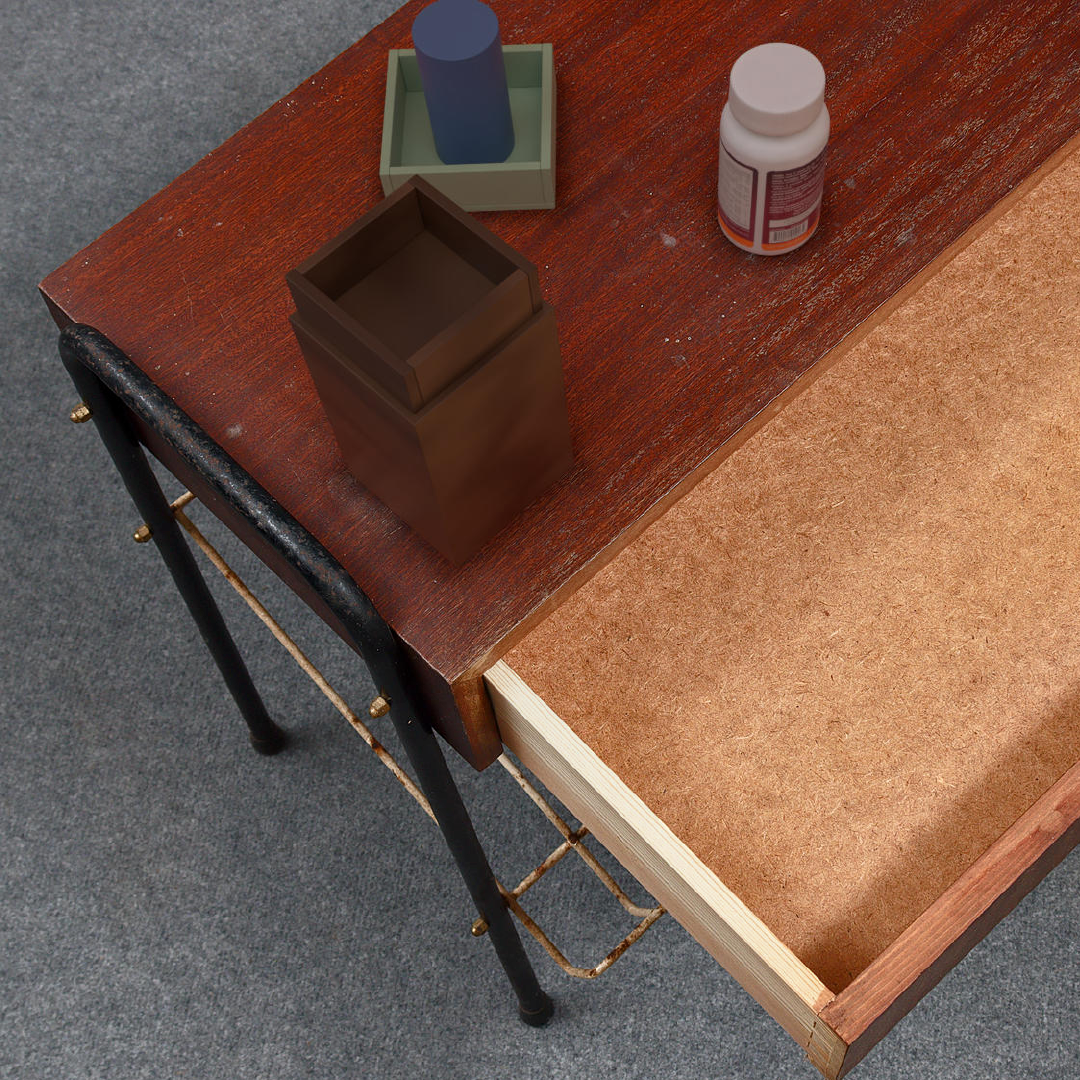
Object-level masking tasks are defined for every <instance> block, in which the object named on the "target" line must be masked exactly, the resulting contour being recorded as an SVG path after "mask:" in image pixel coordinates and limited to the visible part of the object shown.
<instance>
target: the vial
mask: <svg viewBox="0 0 1080 1080" xmlns="http://www.w3.org/2000/svg"><path fill="white" fill-rule="evenodd" d="M411 38H412V42H413V49H415V53H416V58H417V62H418V67H419V72H420V77H421V81H422V86H423V91H424V96H425V100H426V105H427V110H428V115H429V119H430V124H431V129H432V134H433V138H434V143H435V148H436V152H437V155H438V156H439V158H440V159H441V161H442V162H443V163H444V164H446V165H460V164H488V163H503V162H504V161H505V160H506V159H507V158H508V157H509V156H510V154H511V153H512V150H513V148H514V145H515V135H514V128H513V121H512V114H511V107H510V100H509V93H508V86H507V79H506V72H505V65H504V57H503V50H502V45H503V44H502V36H501V30H500V22H499V19H498V17H497V15H496V13H495V12H494V10H493V9H492V8H491V7H490V6H489V5H487V4H486V3H484V2H483V1H480V0H437V1H434V2H432V3H430V4H429V5H427V6H425V7H424V8H423V9H422V10H421V11H420V12H419V13H418V14H417V16H416V17H415V18H414V21H413V23H412V25H411Z"/></svg>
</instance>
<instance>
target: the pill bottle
mask: <svg viewBox="0 0 1080 1080" xmlns="http://www.w3.org/2000/svg"><path fill="white" fill-rule="evenodd" d="M728 90H729V91H728V98H727V99H728V100H727V101H726V103H725V104H724V106H723V109H722V112H721V116H720V121H719V122H720V123H719V150H718V151H719V152H718V155H719V156H718V182H717V183H718V185H717V187H718V188H717V220H718V223H719V226H720V229H721V231H722V233H723V235H725V237H726V238H727V239H728V240H729V241H730V242H731V243H732V244H734V245H735V246H736V247H737V248H739V249H741V250H743V251H744V252H748V253H751V254H755V255H761V256H779V255H784V254H786V253H787V254H788V253H790V252H793V251H794V250H796V249H798V248H799V247H801V246H803V245H805V243H806V242H808V241H809V239H810V238H811V237H812V236H813V234H814V233H815V231H816V229H817V227H818V225H819V220H820V215H821V208H822V198H823V191H824V181H825V171H826V164H827V154H828V146H829V140H830V131H831V118H830V114H829V109H828V108H827V105H826V102H825V91H826V73H825V70H824V67H823V65H822V63H821V61H820V60H819V59H818V58H817V57H816V56H815V55H814V54H813V53H812V52H810V51H809V50H807V49H806V48H803V47H802V46H799V45H796V44H790V43H786V42H769V43H764V44H759V45H757V46H755V47H753V48H752V47H751V48H750V49H749V50H747V51H745V52H744V53H743V54H741V55H740V56H739V57H738V58H737V60H736V61H735V62H734V64H733V65H732V68H731V71H730V76H729V89H728Z"/></svg>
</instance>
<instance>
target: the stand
mask: <svg viewBox="0 0 1080 1080" xmlns="http://www.w3.org/2000/svg"><path fill="white" fill-rule="evenodd" d="M284 279H285V283H286V285H287V287H288V290H289V292H290V294H291V298H292V300H293V303H294V305H295V308H296V310H295V311H293V312H292V313H291V314H289V315H288V317H287V318H288V320H289V323H290V326H291V328H292V331H293V333H294V336H295V339H296V341H297V343H298V346H299V349H300V352H301V354H302V356H303V359H304V362H305V364H306V366H307V369H308V372H309V374H310V377H311V379H312V381H313V385H314V386H315V390H316V393H317V394H318V397H319V399H320V402H321V404H322V407H323V410H324V412H325V415H326V417H327V420H328V423H329V425H330V428H331V430H332V433H333V435H334V438H335V441H336V443H337V445H338V447H339V450H340V453H341V455H342V459H343V460H344V461H343V462H344V463H345V465H346V468H347V471H348V472H349V473H350V475H352V476H353V477H354V478H355V479H356V480H357V481H358V482H360V483H361V485H363V486H364V487H365V489H368V491H369V492H371V493H372V494H373V495H374V496H375V497H377V499H379V500H380V501H381V502H382V503H383V504H384V505H385V506H386V507H387V508H388V509H390V511H392V512H393V513H394V514H395V515H396V516H398V518H400V519H401V520H402V521H403V522H404V523H405V524H406V525H407V526H408V527H410V528H411V530H413V531H414V532H415V533H416V534H417V535H419V536H420V537H421V538H422V539H423V540H424V541H425V542H426V543H428V544H429V545H430V546H431V547H432V548H433V549H434V550H436V552H438V553H439V554H440V555H441V556H442V557H443V558H444V559H445V560H447V562H449V563H450V564H451V565H452V566H453V567H454V568H456V569H459V568H460V567H461V566H462V565H463V564H465V563H466V561H467V560H469V559H470V558H471V557H472V556H474V555H475V554H476V553H477V552H478V551H479V550H480V549H481V548H483V547H484V546H485V545H486V544H487V543H488V542H489V541H490V540H492V539H493V538H494V537H495V536H496V535H497V534H498V533H499V532H501V531H502V530H503V529H504V528H505V527H506V526H507V525H508V524H509V523H511V522H512V521H513V520H514V519H516V517H518V516H519V515H520V514H521V513H523V511H524V510H525V509H526V508H528V507H529V506H530V505H531V504H532V503H534V502H535V501H536V500H537V499H538V498H539V497H540V496H541V495H542V494H543V493H544V492H547V490H548V489H549V488H550V487H551V486H553V485H554V484H555V483H556V482H557V481H558V480H559V479H561V478H562V477H563V476H564V475H565V474H566V473H567V472H569V471H570V470H571V469H572V468H573V467H575V457H574V450H573V449H574V448H573V442H572V441H573V440H572V435H571V434H572V432H571V425H570V418H569V417H570V416H569V410H568V402H567V401H568V400H567V394H566V386H565V378H564V370H563V362H562V361H563V360H562V353H561V346H560V338H559V330H558V321H557V314H556V307H554V306H553V305H552V304H550V303H549V302H548V301H547V300H545V299H544V298H543V297H542V291H541V284H540V283H541V282H540V276H539V268H538V266H537V265H536V264H535V263H533V262H532V261H530V259H528V258H526V257H525V256H524V255H523V254H522V253H520V252H519V251H518V250H516V249H515V248H513V246H511V245H510V244H509V243H507V242H506V241H505V240H503V239H502V238H501V237H500V236H498V235H497V233H494V231H491V230H490V229H489V228H488V227H486V226H485V225H484V224H483V223H482V222H480V221H479V220H478V219H476V218H475V217H474V216H472V215H471V214H470V213H469V212H466V211H465V210H463V209H462V208H461V207H459V206H458V205H457V204H456V203H454V202H453V201H452V200H450V199H449V198H448V197H447V196H445V195H444V194H443V193H441V192H440V191H439V190H437V189H436V188H435V187H434V186H432V185H431V184H430V183H428V182H427V181H426V180H425V179H423V178H422V177H421V176H419V175H418V174H415V175H414V176H413V177H411V178H410V179H409V180H408V181H407V182H405V183H404V184H403V185H401V186H400V187H399V188H397V189H396V190H395V191H393V192H392V193H391V194H390V195H388V196H387V197H384V198H383V199H382V200H380V201H379V202H378V203H376V204H375V205H374V206H372V207H371V208H369V210H367V211H366V212H365V213H364V214H362V215H361V216H360V217H358V218H357V219H356V220H354V221H353V222H352V223H351V224H349V225H348V226H347V227H345V228H344V229H342V231H340V232H339V233H337V234H336V235H335V236H334V237H332V238H331V239H329V240H328V241H327V242H326V243H324V244H323V245H321V246H320V247H319V248H318V249H317V250H316V251H314V252H312V253H311V254H310V255H309V256H308V257H306V258H305V259H304V260H302V261H301V262H300V263H298V264H297V265H296V266H295V267H294V268H292V269H291V270H289V271H288V272H287V273H285V274H284Z"/></svg>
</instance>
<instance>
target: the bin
mask: <svg viewBox="0 0 1080 1080" xmlns="http://www.w3.org/2000/svg"><path fill="white" fill-rule="evenodd" d="M502 50H503V57H504V65H505V72H506V79H507V86H508V93H509V100H510V107H511V114H512V121H513V128H514V135H515V145H514V148H513V150H512V153H511V154H510V156H509V157H508V158H507V159H506V160H505V161H504V162H503V163H488V164H460V165H446V164H444V163H443V162H442V161H441V159H440V158H439V156H438V155H437V152H436V148H435V143H434V138H433V134H432V129H431V124H430V119H429V115H428V110H427V105H426V100H425V96H424V91H423V86H422V81H421V77H420V72H419V67H418V62H417V58H416V53H415V48H399V49H397V48H396V49H394V48H393V49H389V51H388V60H387V62H388V63H387V74H386V86H385V87H386V88H385V99H384V100H385V101H384V102H385V103H384V110H383V122H382V123H383V124H382V125H383V126H382V136H381V150H380V163H379V174H378V175H379V178H380V182H381V187H382V190H383V193H384V198H386V197H387V196H388V195H390V194H391V193H392V192H393V191H395V190H396V189H397V188H399V187H400V186H401V185H403V184H404V183H405V182H407V181H408V180H409V179H410V178H411V177H413V176H414V175H415V174H418V175H419V176H421V177H422V178H423V179H425V180H426V181H427V182H428V183H430V184H431V185H432V186H434V187H435V188H436V189H437V190H439V191H440V192H441V193H443V194H444V195H445V196H447V197H448V198H449V199H450V200H452V201H453V202H454V203H456V204H457V205H458V206H459V207H461V208H462V209H463V210H465V211H466V212H467V213H471V212H473V213H474V212H499V211H500V212H501V211H502V212H504V211H531V210H554V209H556V177H557V176H556V173H557V170H556V169H557V168H556V166H557V165H556V164H557V88H558V87H557V77H556V67H555V66H556V65H555V56H554V47H553V43H552V42H549V43H547V42H545V43H544V42H543V43H526V44H502Z"/></svg>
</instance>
